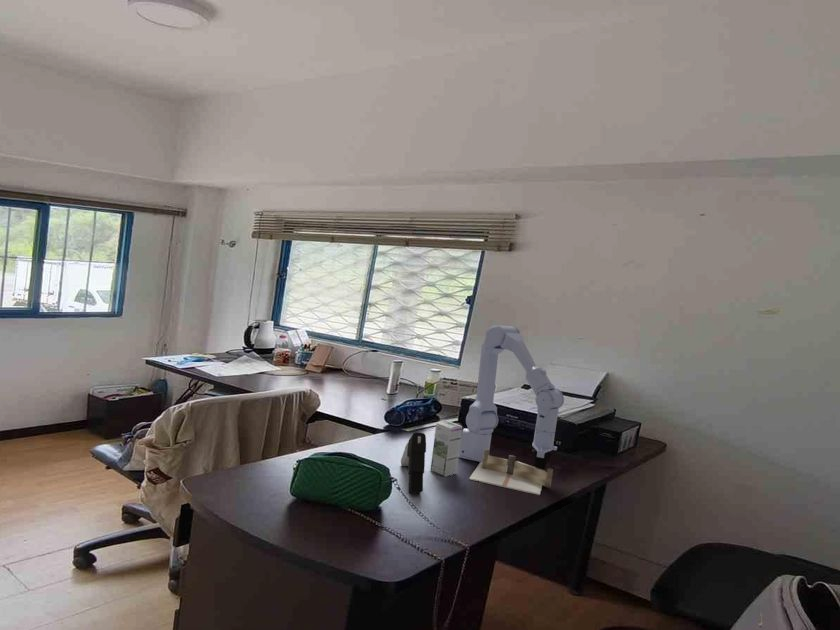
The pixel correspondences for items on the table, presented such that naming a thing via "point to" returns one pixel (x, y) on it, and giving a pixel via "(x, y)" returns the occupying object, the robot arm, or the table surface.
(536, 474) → the beige long t-shaped piece
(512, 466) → the fixed fence section
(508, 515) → the table surface
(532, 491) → the mat
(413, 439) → the handheld device
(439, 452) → the syrup box
